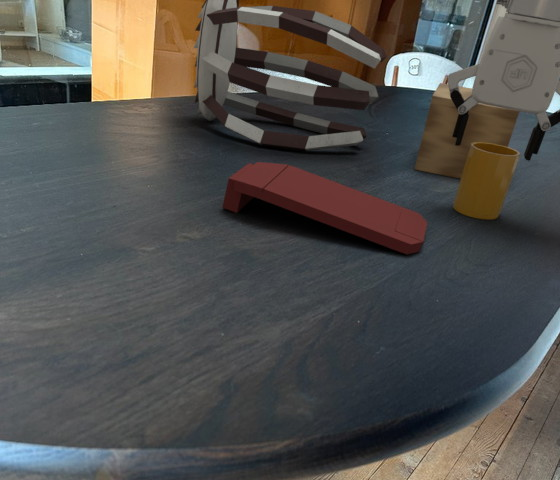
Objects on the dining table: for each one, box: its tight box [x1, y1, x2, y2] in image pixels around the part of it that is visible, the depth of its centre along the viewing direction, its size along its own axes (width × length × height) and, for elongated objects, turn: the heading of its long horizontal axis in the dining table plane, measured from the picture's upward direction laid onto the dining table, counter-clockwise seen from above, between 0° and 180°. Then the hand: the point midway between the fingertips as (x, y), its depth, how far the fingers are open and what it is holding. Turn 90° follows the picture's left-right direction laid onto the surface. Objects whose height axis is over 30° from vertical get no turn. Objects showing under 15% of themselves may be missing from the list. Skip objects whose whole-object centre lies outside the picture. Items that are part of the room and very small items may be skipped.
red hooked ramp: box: [222, 161, 428, 255], centre depth 76 cm, size 12×5×25 cm
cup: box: [452, 142, 521, 220], centre depth 85 cm, size 7×7×9 cm
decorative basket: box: [193, 0, 388, 152], centre depth 105 cm, size 24×27×35 cm
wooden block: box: [414, 82, 520, 179], centre depth 106 cm, size 14×18×12 cm
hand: (491, 151), depth 82 cm, fingers open, 9 cm apart
